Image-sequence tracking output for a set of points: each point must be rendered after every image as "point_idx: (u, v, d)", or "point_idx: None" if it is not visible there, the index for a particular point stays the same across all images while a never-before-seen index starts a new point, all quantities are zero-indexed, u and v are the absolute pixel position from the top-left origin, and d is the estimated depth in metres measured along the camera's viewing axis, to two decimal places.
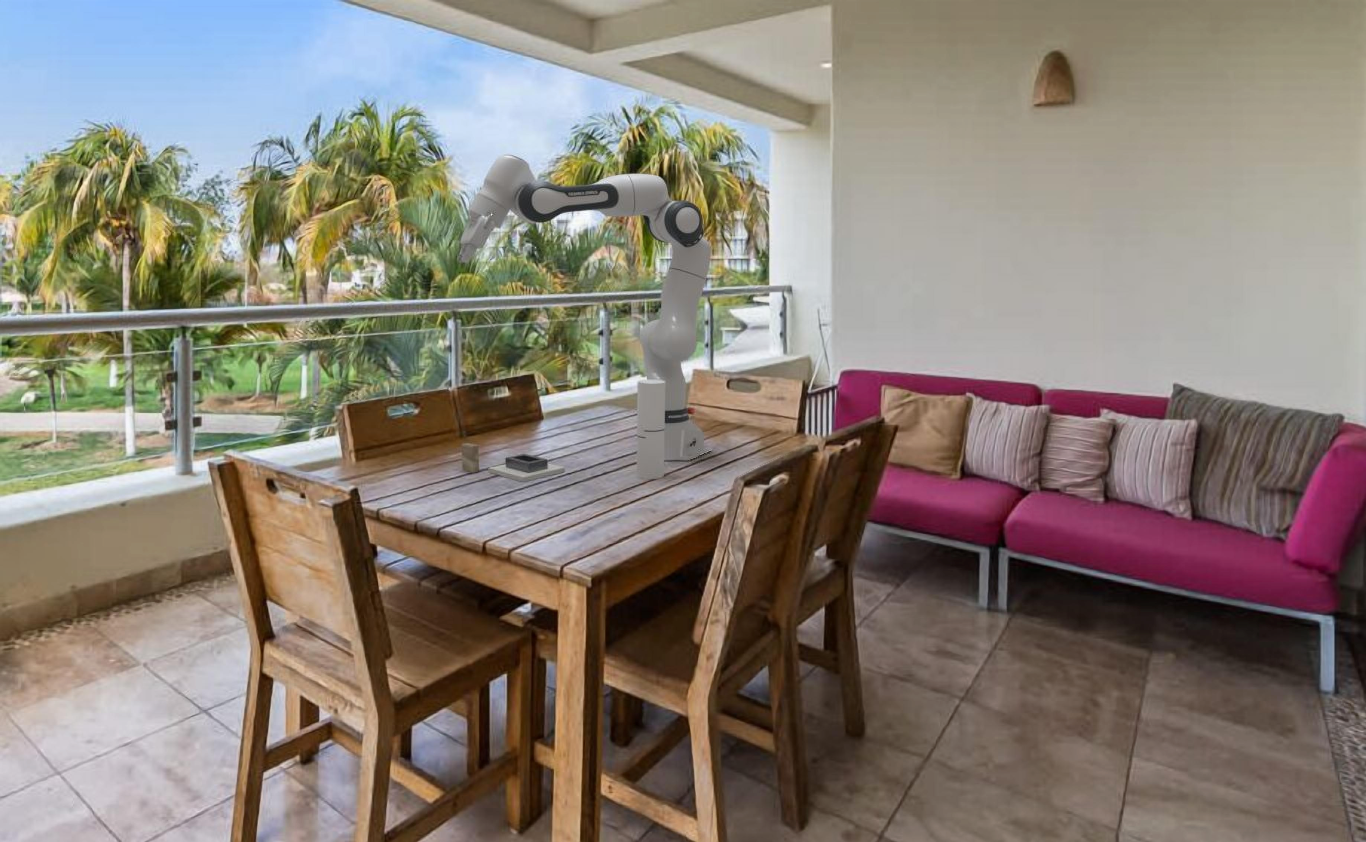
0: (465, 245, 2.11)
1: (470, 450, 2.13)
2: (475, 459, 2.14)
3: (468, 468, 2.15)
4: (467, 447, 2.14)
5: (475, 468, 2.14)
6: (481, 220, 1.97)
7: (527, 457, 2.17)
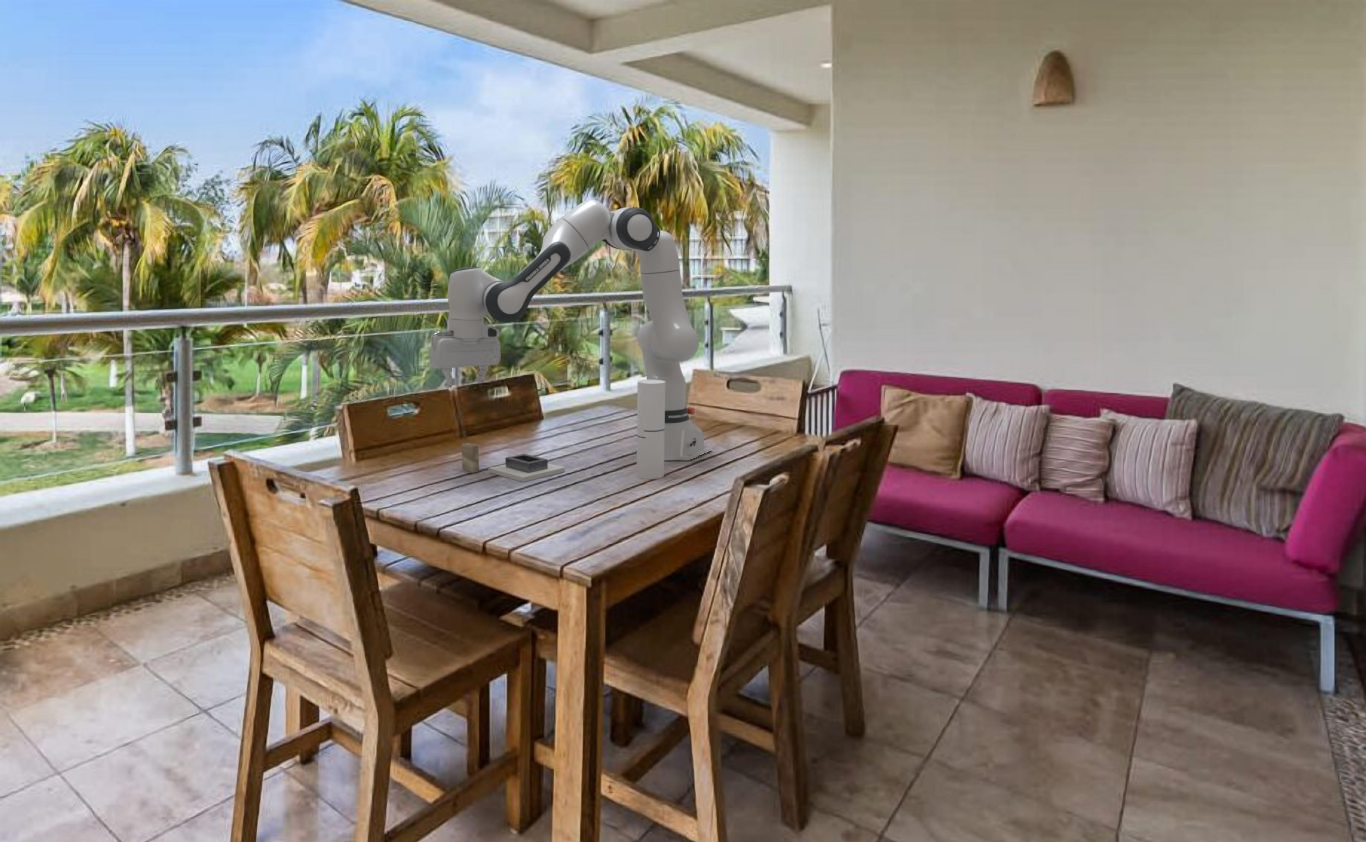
0: None
1: (470, 450, 2.13)
2: (475, 459, 2.14)
3: (468, 468, 2.15)
4: (467, 447, 2.14)
5: (475, 468, 2.14)
6: None
7: (527, 457, 2.17)
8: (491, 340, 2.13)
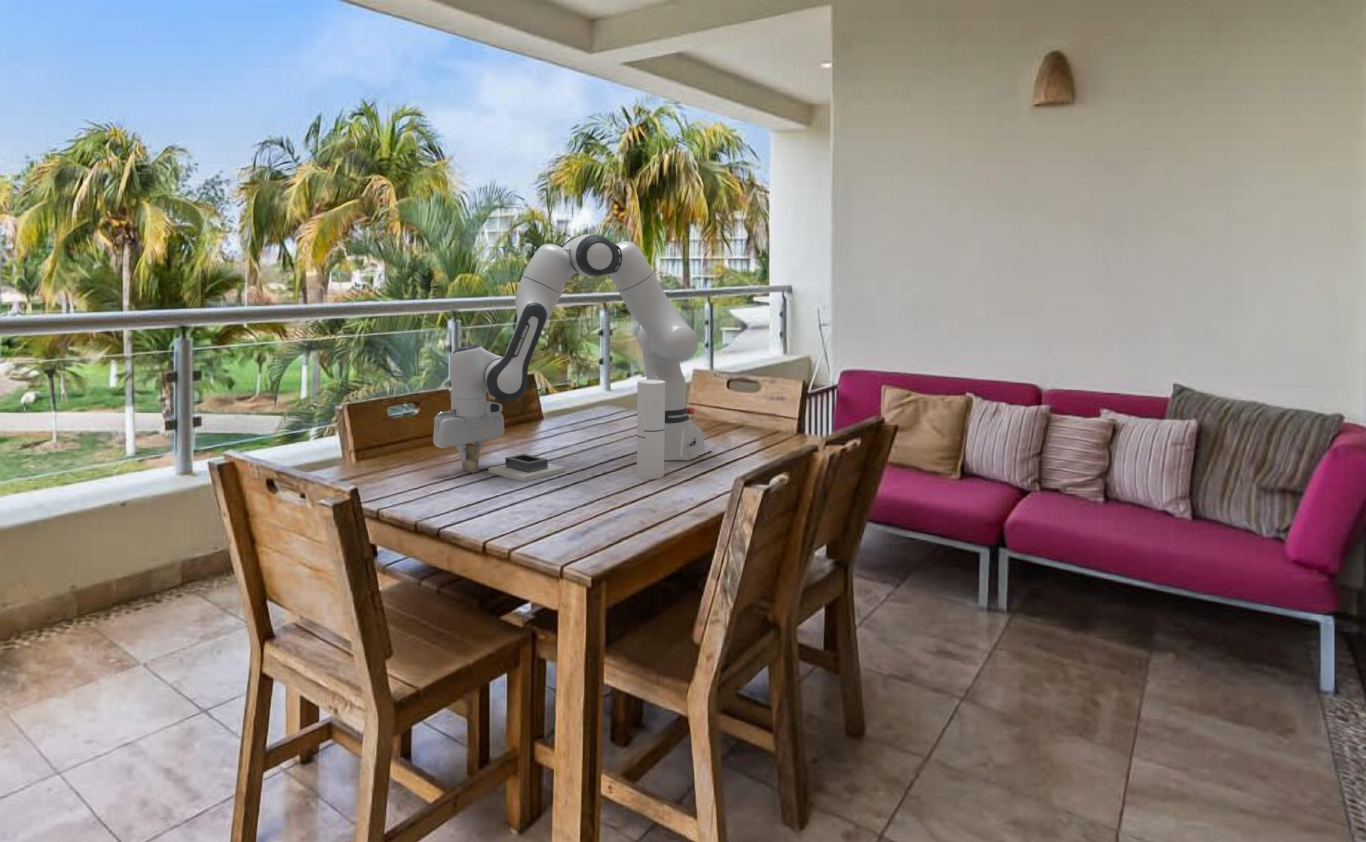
0: None
1: (470, 450, 2.13)
2: (475, 459, 2.14)
3: (468, 468, 2.15)
4: (467, 447, 2.14)
5: (475, 468, 2.14)
6: None
7: (527, 457, 2.17)
8: (494, 415, 2.16)
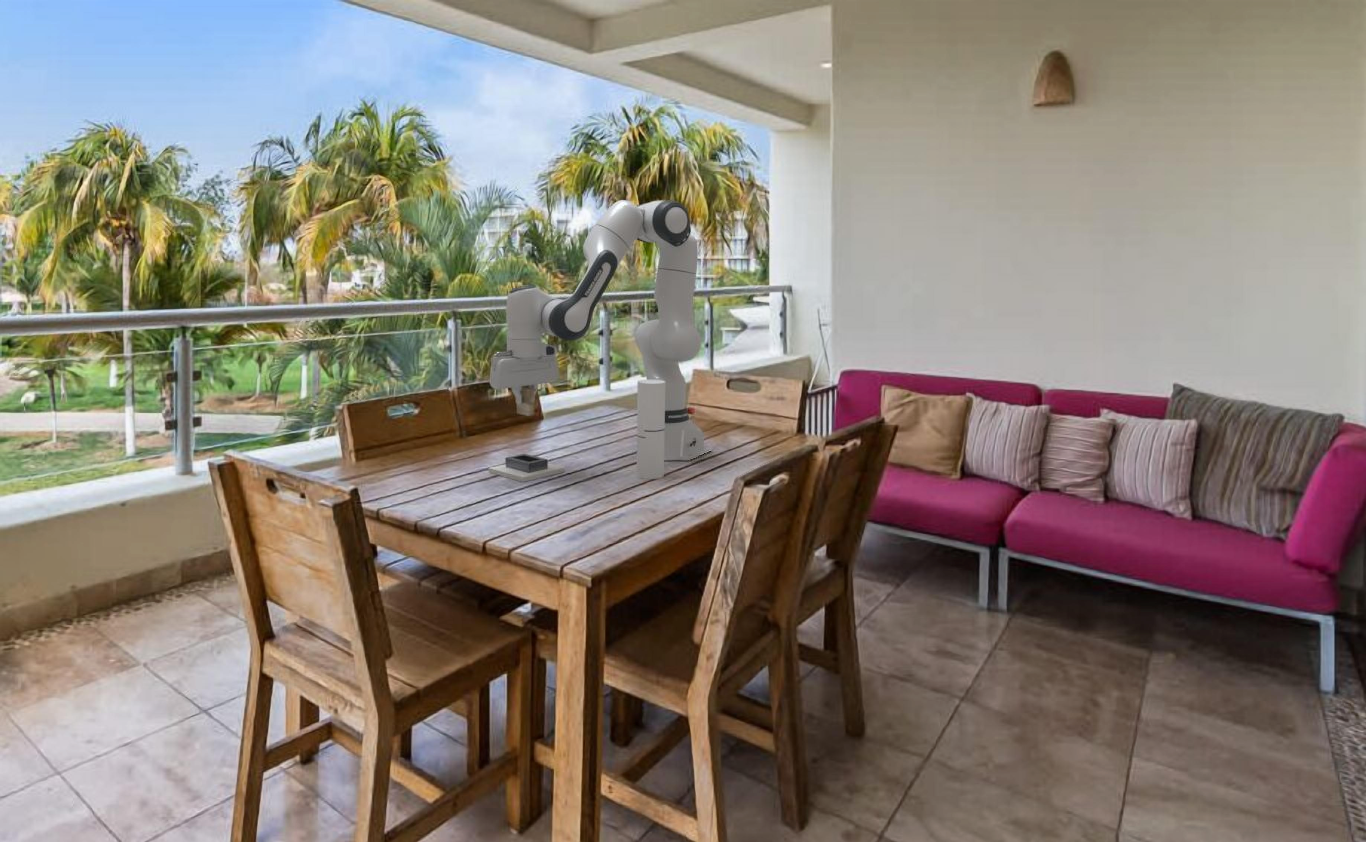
0: None
1: (526, 393, 2.10)
2: (530, 402, 2.10)
3: (523, 412, 2.11)
4: (522, 390, 2.10)
5: (531, 412, 2.11)
6: None
7: (527, 457, 2.17)
8: (549, 358, 2.13)
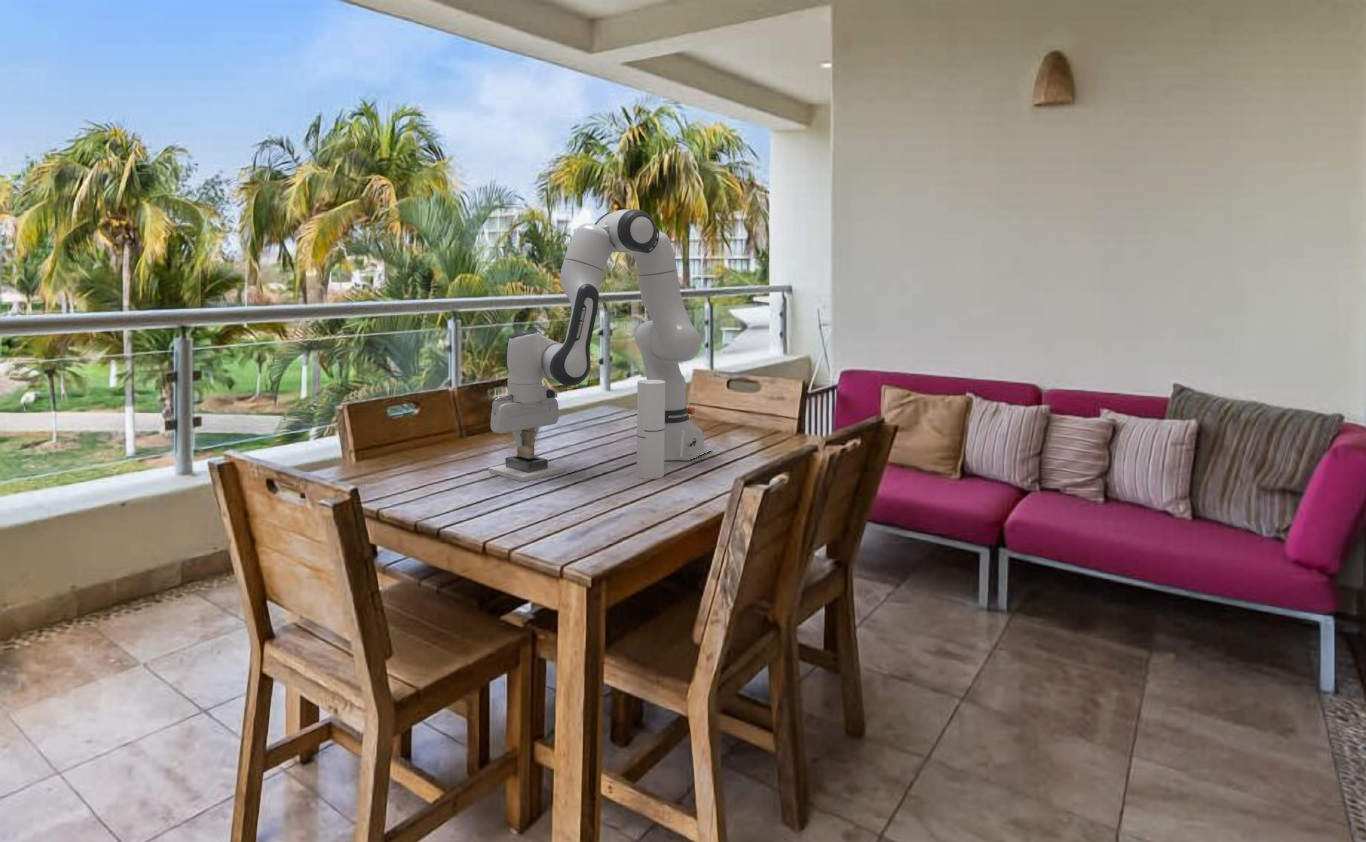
0: None
1: (526, 436, 2.12)
2: (531, 445, 2.12)
3: (523, 454, 2.13)
4: (523, 433, 2.12)
5: (531, 454, 2.13)
6: None
7: None
8: (549, 401, 2.15)
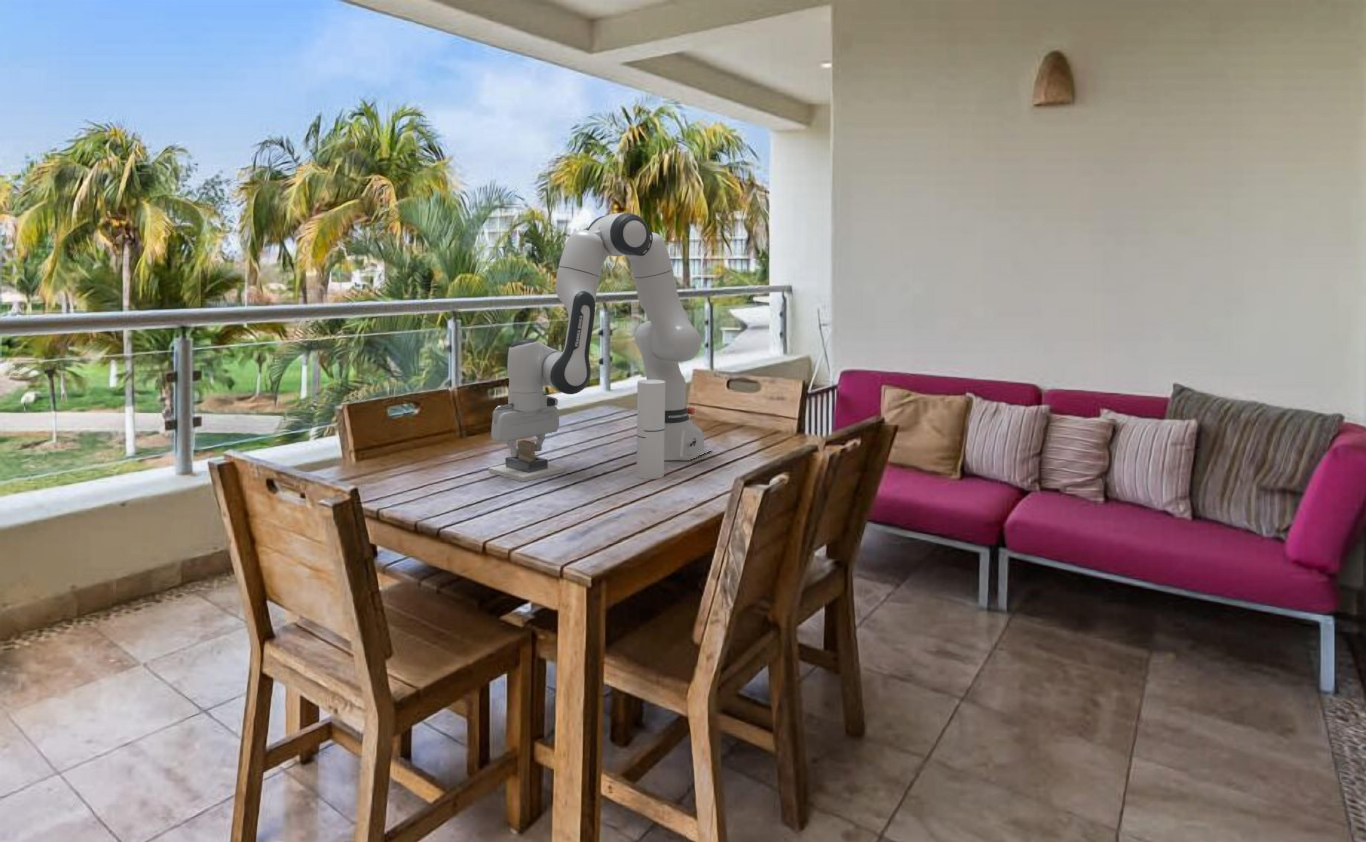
0: None
1: (527, 447, 2.12)
2: (532, 456, 2.13)
3: None
4: (524, 444, 2.13)
5: None
6: None
7: None
8: (550, 409, 2.15)
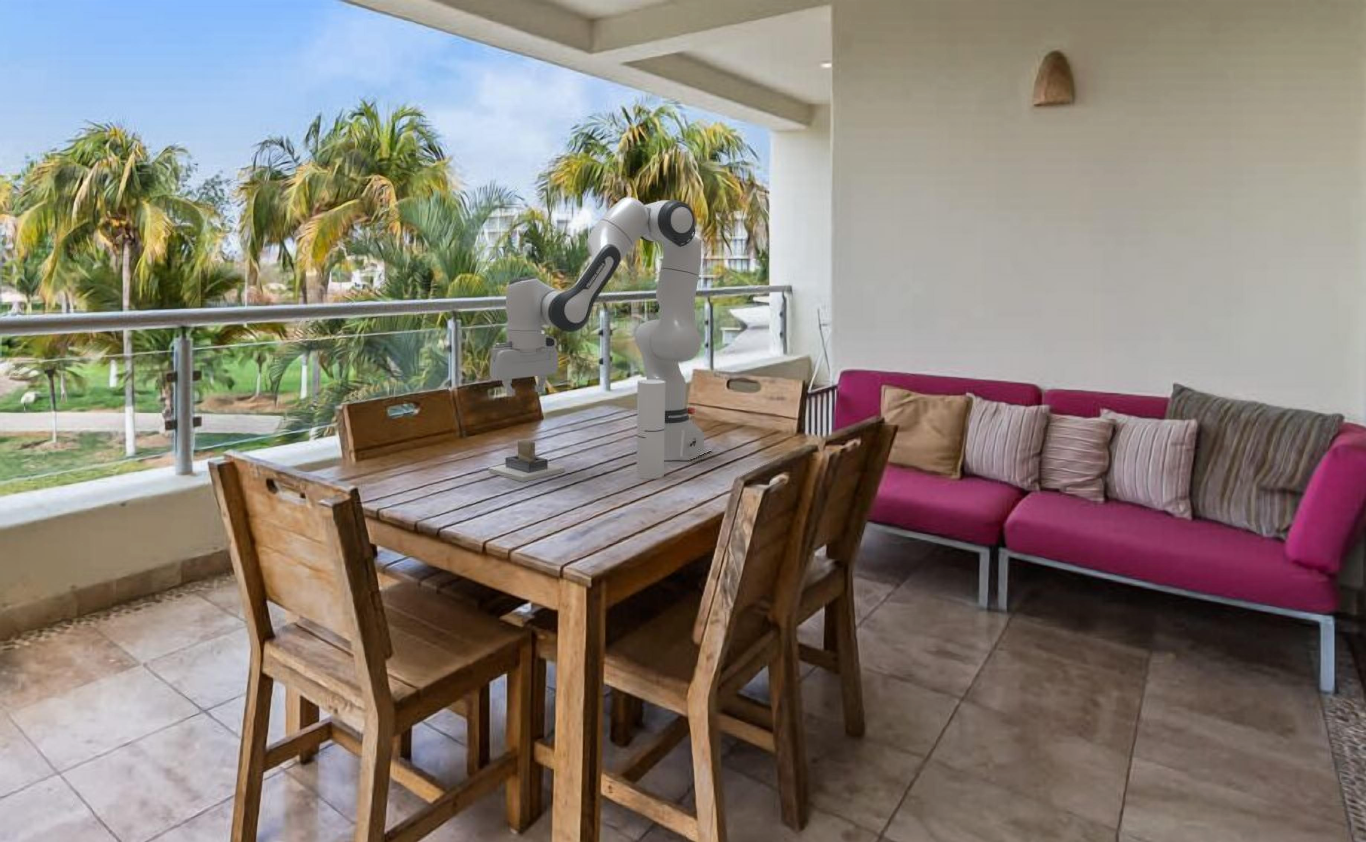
0: None
1: (527, 447, 2.12)
2: (532, 456, 2.13)
3: None
4: (524, 444, 2.13)
5: None
6: None
7: None
8: (549, 349, 2.12)
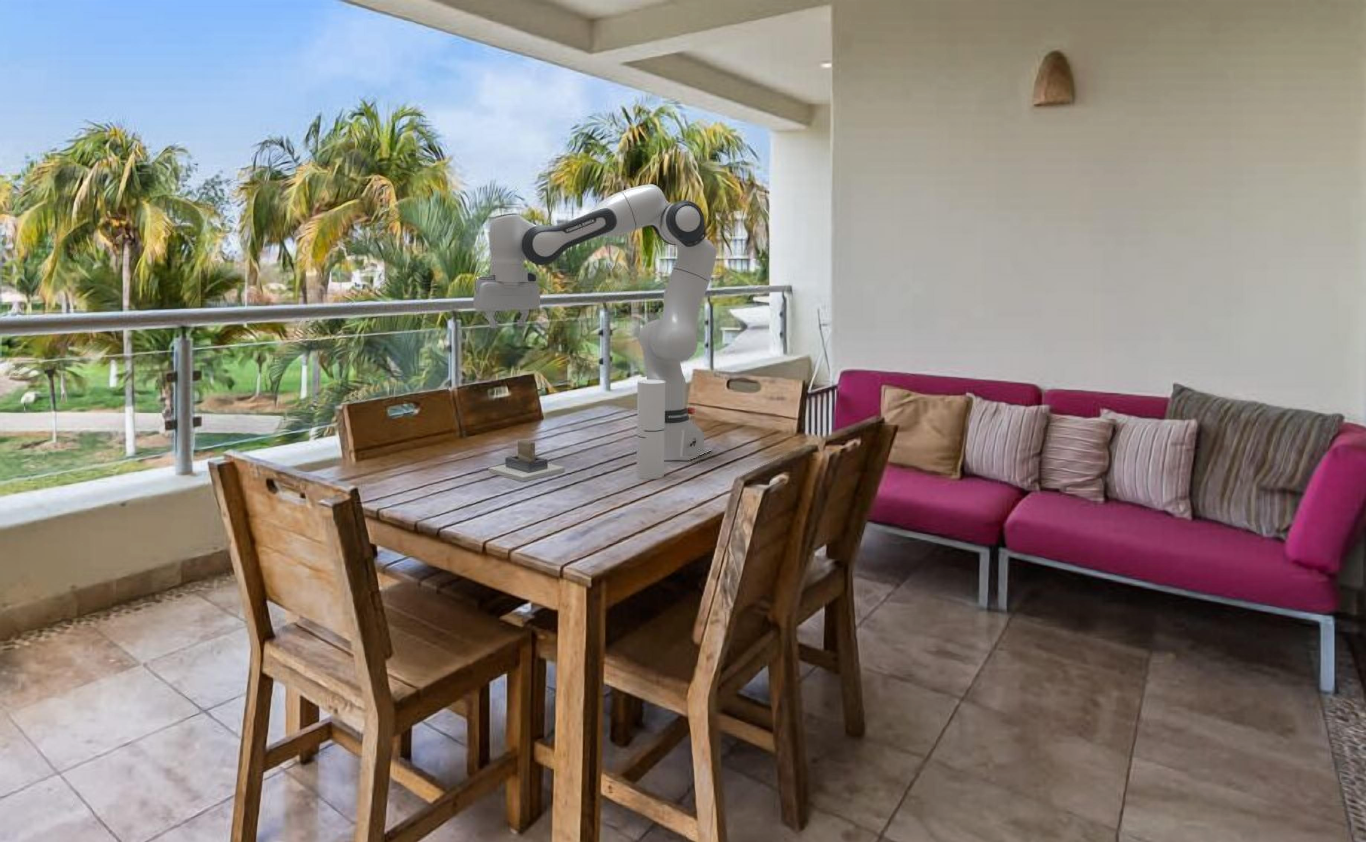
0: (521, 309, 2.25)
1: (527, 447, 2.12)
2: (532, 456, 2.13)
3: None
4: (524, 444, 2.13)
5: None
6: None
7: None
8: (531, 285, 2.22)
